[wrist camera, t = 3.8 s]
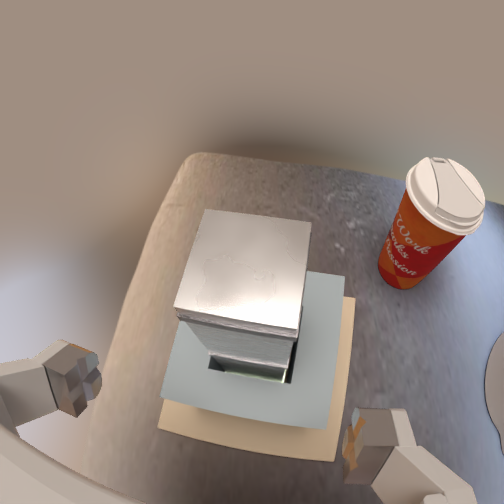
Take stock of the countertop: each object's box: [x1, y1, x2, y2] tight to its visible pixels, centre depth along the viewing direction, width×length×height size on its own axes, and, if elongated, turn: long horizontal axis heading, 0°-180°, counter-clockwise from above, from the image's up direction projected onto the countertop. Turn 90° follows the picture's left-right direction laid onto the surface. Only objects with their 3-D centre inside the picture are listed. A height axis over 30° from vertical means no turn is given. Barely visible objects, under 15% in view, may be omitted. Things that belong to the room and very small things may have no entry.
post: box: [173, 209, 312, 383], centre depth 19 cm, size 4×4×19 cm
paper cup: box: [378, 157, 485, 289], centre depth 27 cm, size 8×8×14 cm
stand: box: [158, 271, 355, 462], centre depth 24 cm, size 16×16×12 cm
